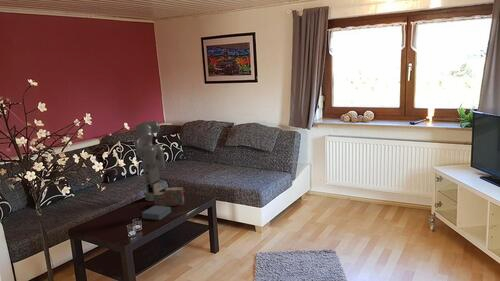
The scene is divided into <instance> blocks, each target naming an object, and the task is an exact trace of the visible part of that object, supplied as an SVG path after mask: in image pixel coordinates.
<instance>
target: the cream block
mask: <svg viewBox="0 0 500 281" xmlns="http://www.w3.org/2000/svg"><path fill="white" fill-rule="evenodd" d="M149 185H150V183H149ZM152 189H153V194H155V193H157V192H161V186H160V182H159V183H158V182H154V183H152ZM147 192H148V193H149V191H148V187H147Z"/></svg>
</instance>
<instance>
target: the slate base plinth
mask: <svg viewBox="0 0 500 281" xmlns="http://www.w3.org/2000/svg"><path fill="white" fill-rule="evenodd" d="M169 213H170V214H171V213H172V206H155V205H153V206H151V207H149V208H148V209H145V210H144V211H142V212H141V216H142V219H144V220H145V219H146V220H155V221H160V220H162V219H163V218H165V217H166V216H168V215H170V214H169Z"/></svg>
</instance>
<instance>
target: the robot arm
mask: <svg viewBox="0 0 500 281" xmlns="http://www.w3.org/2000/svg"><path fill="white" fill-rule="evenodd" d="M160 126H161V125H160V123H159V121H157V120H152V121H151V120H150V121H143V122H141V123H138V124H137V125H135V131H136V135H137V136H138V139H137V140H136V141H135V145H134V146H135V155H136V157H138V158H143V161H142V162H141V167H142V171H143V176H144V185H145V192H143V196H144V197H145V198H144V199H145V201H147V202H148V201H149V202H151V201H152V202H154V194H153V189H152V183H154V182H158V183H159V184H160V178H161V177H160V172H159V171H162V170H165V169H166V162H165V153H164V149H163V146H162V145H161V144H159V143H157V144H153V137H154V136H153V135H154V134H157V133H159V132H160V130H161V128H160ZM149 183H150V185H149ZM147 187H148V191H149V193H148V192H147Z"/></svg>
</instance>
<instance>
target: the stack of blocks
mask: <svg viewBox="0 0 500 281" xmlns="http://www.w3.org/2000/svg"><path fill="white" fill-rule="evenodd" d="M184 193H185V190H184V187H183V186H182V187H179V186H178V187H177V186H175V187H166V189H165V190H164V191H159V192H157V193H155V194H154V201H153V203H154V206H165V207H175V206H183V205H184V204H185V194H184Z"/></svg>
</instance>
